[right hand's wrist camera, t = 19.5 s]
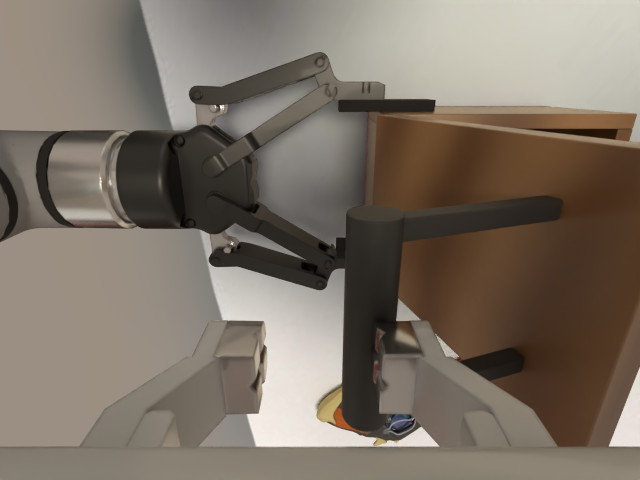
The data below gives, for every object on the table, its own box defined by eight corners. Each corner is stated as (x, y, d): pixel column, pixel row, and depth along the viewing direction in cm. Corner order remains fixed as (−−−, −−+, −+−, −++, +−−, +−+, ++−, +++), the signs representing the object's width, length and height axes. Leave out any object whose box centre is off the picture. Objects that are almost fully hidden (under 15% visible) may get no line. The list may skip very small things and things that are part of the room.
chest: (544, 106, 33) (637, 113, 23) (521, 218, 37) (592, 267, 27) (368, 106, 33) (384, 113, 23) (363, 217, 37) (375, 265, 27)
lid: (725, 152, 9) (422, 177, 6) (604, 459, 13) (385, 551, 10) (394, 114, 23) (257, 117, 20) (384, 267, 27) (267, 286, 24)
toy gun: (310, 418, 44) (364, 473, 45) (444, 324, 40) (498, 388, 42) (312, 402, 46) (363, 455, 48) (438, 313, 43) (489, 373, 44)
